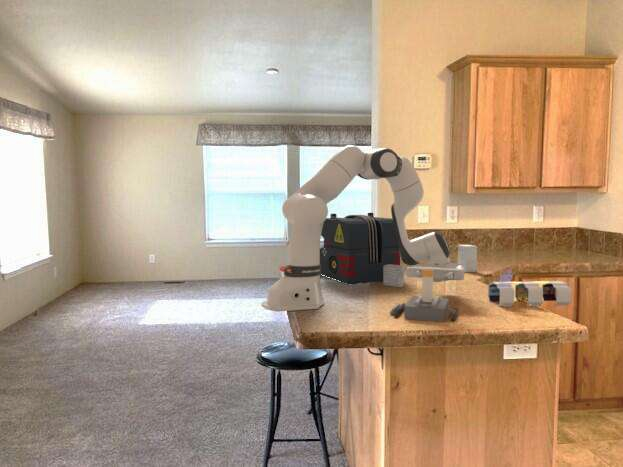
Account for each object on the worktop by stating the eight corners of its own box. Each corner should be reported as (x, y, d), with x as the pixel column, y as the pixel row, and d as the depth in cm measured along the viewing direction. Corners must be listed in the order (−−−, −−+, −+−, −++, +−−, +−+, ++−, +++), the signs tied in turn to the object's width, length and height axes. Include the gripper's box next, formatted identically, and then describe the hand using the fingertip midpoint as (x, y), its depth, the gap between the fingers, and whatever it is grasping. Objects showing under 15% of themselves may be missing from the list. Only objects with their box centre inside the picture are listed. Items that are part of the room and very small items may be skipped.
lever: (431, 302, 156) (432, 270, 156) (421, 301, 158) (422, 270, 157) (433, 300, 159) (433, 269, 159) (423, 299, 161) (423, 268, 160)
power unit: (400, 279, 222) (401, 214, 220) (348, 285, 210) (348, 215, 208) (367, 271, 247) (367, 212, 245) (318, 275, 235) (318, 213, 233)
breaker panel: (443, 321, 149) (444, 305, 149) (404, 318, 154) (404, 302, 153) (448, 310, 164) (448, 295, 164) (412, 307, 168) (412, 293, 168)
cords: (454, 322, 148) (454, 317, 148) (387, 316, 156) (387, 312, 156) (458, 310, 163) (458, 306, 163) (397, 305, 170) (397, 301, 170)
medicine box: (404, 286, 207) (404, 265, 207) (398, 287, 204) (398, 267, 203) (388, 283, 213) (388, 264, 212) (382, 285, 209) (383, 265, 209)
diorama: (499, 308, 168) (500, 270, 167) (487, 301, 179) (488, 266, 178) (570, 307, 169) (572, 269, 168) (554, 300, 179) (556, 265, 178)
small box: (476, 272, 243) (477, 246, 242) (465, 272, 241) (465, 246, 240) (468, 269, 251) (468, 244, 250) (457, 270, 249) (457, 244, 248)
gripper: (409, 260, 186) (402, 265, 173) (465, 262, 178) (463, 268, 165) (409, 276, 186) (402, 283, 173) (465, 279, 179) (462, 286, 166)
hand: (432, 275), depth 169 cm, fingers open, 8 cm apart
